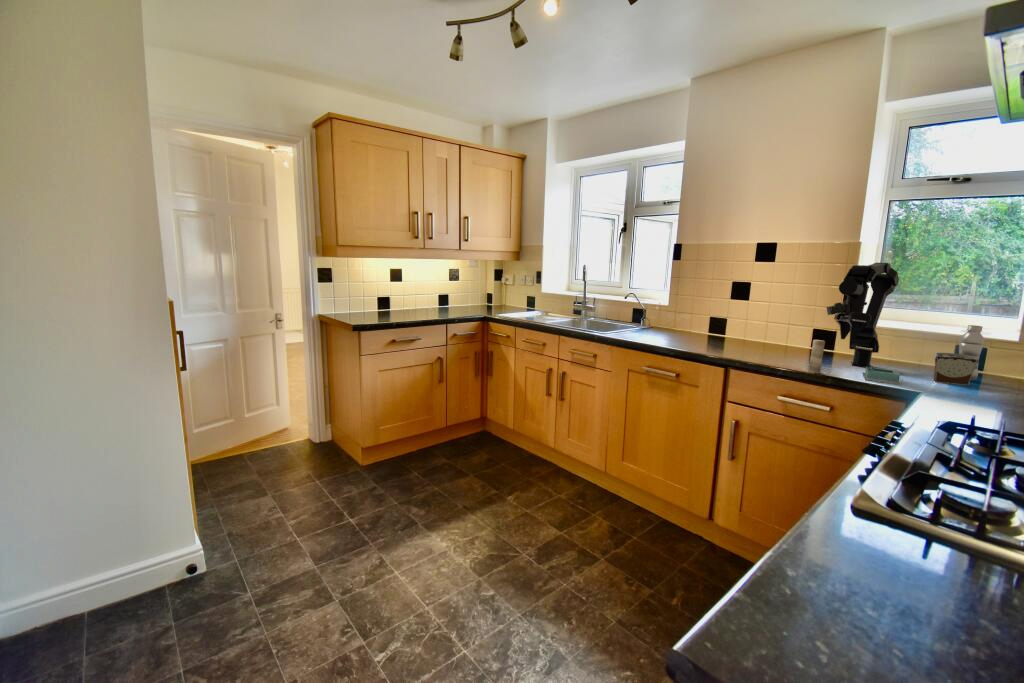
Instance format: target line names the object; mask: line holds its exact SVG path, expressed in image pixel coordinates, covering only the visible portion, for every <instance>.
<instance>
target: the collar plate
mask: <svg viewBox="0 0 1024 683" xmlns="http://www.w3.org/2000/svg"><path fill="white" fill-rule="evenodd" d="M862 374H863V375H862V377H863V379H866V380H865V381H868V380H872V381H871V382H876V381H880V382H879V383H883V382H886V383H885V384H890V383H894V384H893V385H897V384H901V385H902V381H901V380H900V377H901V374H900V373H899V372H898V371H897V370H896V369H895V370H894V369H889V368H882V367H881V368H880V367H873V366H872V367H865V372H862Z"/></svg>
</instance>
